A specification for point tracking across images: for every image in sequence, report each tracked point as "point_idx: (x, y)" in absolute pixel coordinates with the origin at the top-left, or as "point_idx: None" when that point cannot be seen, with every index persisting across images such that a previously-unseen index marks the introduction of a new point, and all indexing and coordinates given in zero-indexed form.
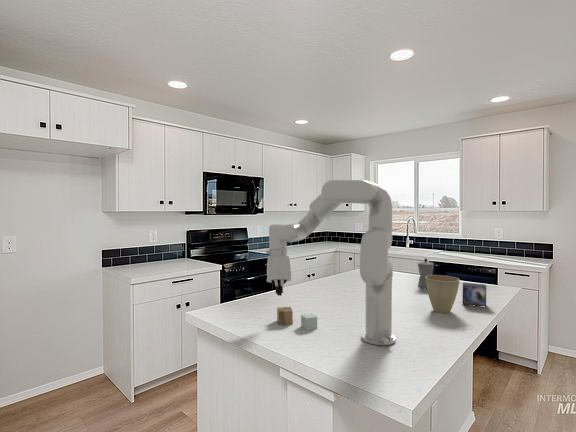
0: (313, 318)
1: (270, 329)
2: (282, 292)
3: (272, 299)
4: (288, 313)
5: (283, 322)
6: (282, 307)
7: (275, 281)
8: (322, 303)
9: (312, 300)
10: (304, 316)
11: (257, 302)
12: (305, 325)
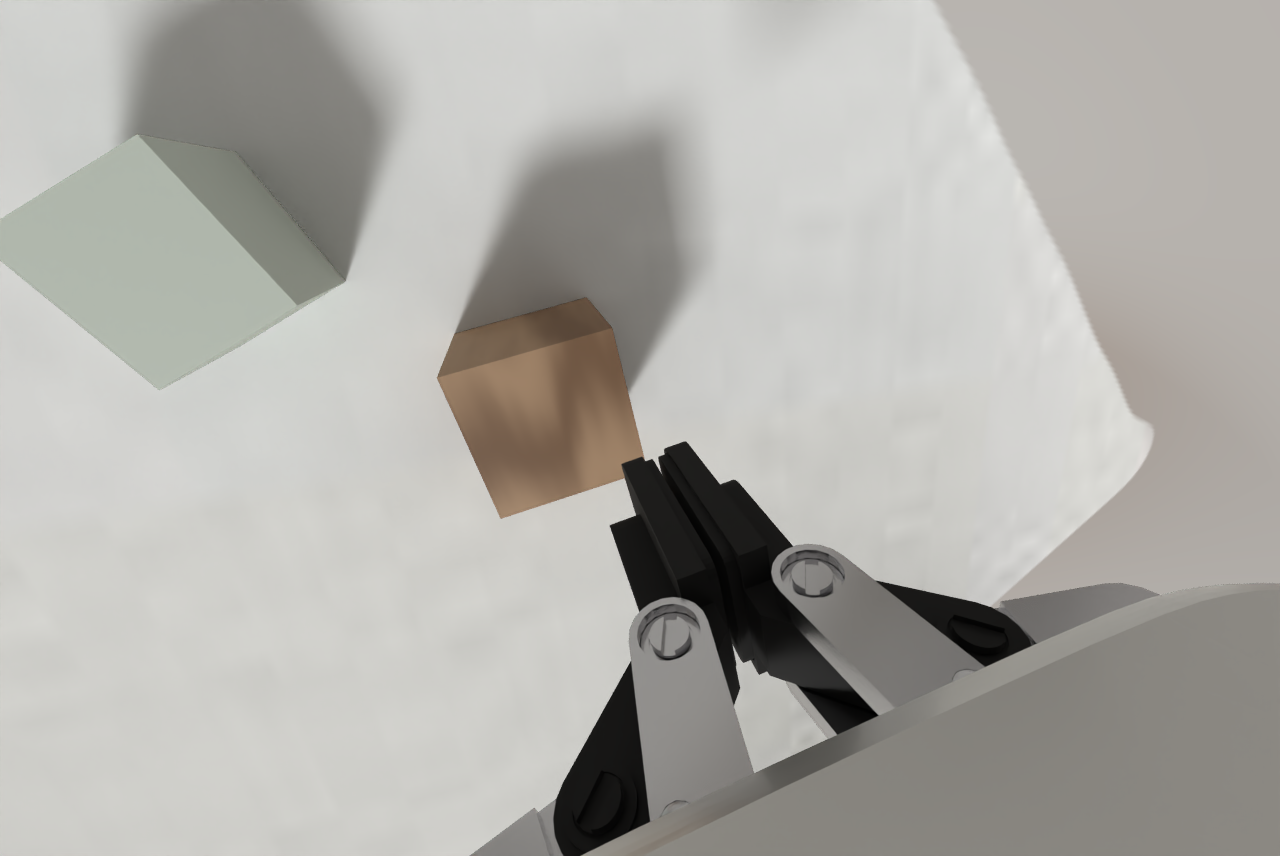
0: (45, 202)
1: (650, 171)
2: (616, 524)
3: None
4: (491, 353)
5: (544, 314)
6: (588, 479)
7: (924, 648)
8: (319, 824)
9: (419, 843)
10: (215, 239)
11: (781, 705)
12: (231, 174)
